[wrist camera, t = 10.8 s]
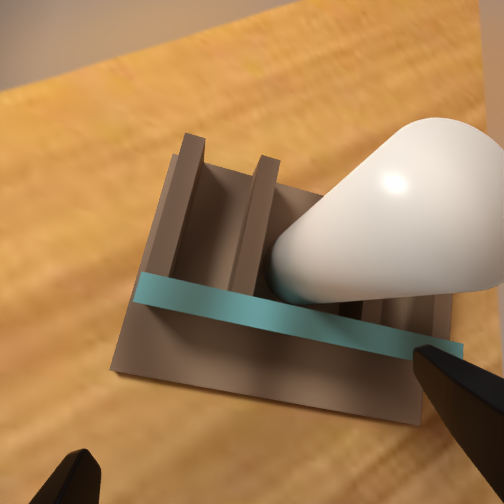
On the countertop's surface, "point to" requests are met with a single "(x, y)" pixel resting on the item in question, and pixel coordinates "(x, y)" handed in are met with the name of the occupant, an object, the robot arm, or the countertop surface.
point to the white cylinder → (401, 223)
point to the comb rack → (263, 304)
